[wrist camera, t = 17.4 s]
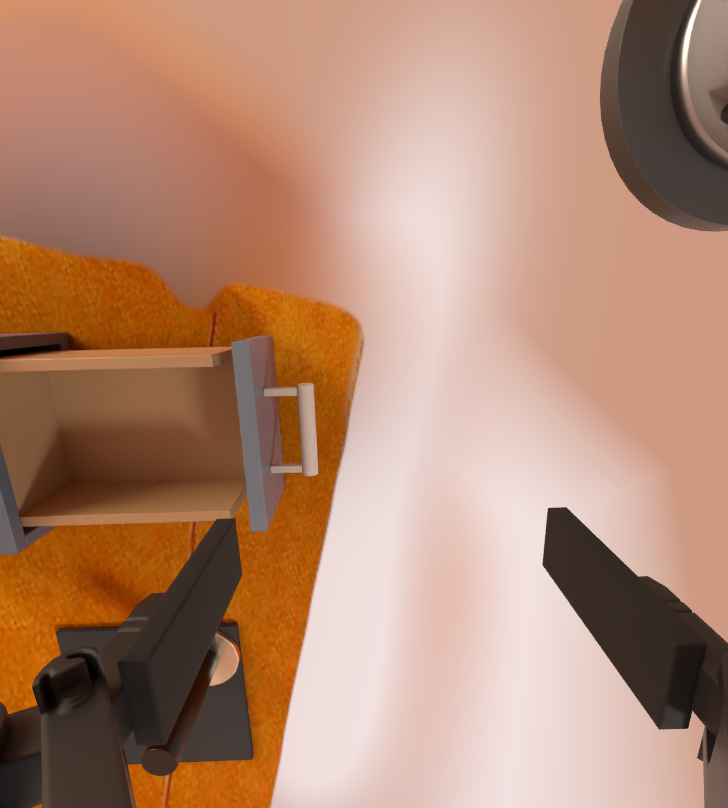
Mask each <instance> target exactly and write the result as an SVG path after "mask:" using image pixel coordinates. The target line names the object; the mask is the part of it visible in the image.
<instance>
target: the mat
mask: <svg viewBox="0 0 728 808" xmlns="http://www.w3.org/2000/svg"><path fill="white" fill-rule="evenodd" d="M119 628H120V627H95V628H65V629H59V630H58V631H57V632H56V635H57V639H58V643H59V647H60V650H61V654H63V653H65V652H67V651H70V650H73V649H76V648H79V647H87V646H89V647H93V648H96V649H97V650H98V652H99V653H101V652H102V650H103V649H104V648H105V647H106V645H107V644H108V643H109V641H110V640H111V639H112V637H113V636H114V635H115V633H118V629H119ZM218 630H220V631H222V632H224V633H226V634H227V635H229V636H230V637H231V638H232V639H233V640H234V641H235V643H236V644H237V646H238V649H239V652H240V661H239V664H238V667H237V670H236V672H235V673H234V675H233V676H232V677H231V678H229V679H228V680H227V681H225V682H223V683H221V684H218V685H213V686H209V687H208V690H207V692H206V695H205V698H204V700H203V703H202V705H201V708H200V710H199V713H198V715H197V718H196V720H195V723H194V725H193V728H192V730H191V733H190V736H189V738H188V741H187V743H186V746H185V748H184V751H183V753H182V756H181V758H180V761H179V762H200V761H226V760H252V759H253V747H252V739H251V731H250V722H249V714H248V706H247V698H246V690H245V682H244V673H243V665H242V657H241V649H240V641H239V633H238V624H237V623H220V625H219V627H218ZM146 748H147V746H137V745H136V740H135V736H134V732H133V730H132V732H131V734H130V736H129V738H128V740H127V741H126V743H125V745H124V751H125V756H126V760H127V764H141V759H142V756H143V754H144V752H145V750H146Z"/></svg>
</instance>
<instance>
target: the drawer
mask: <svg viewBox="0 0 728 808" xmlns="http://www.w3.org/2000/svg"><path fill="white" fill-rule="evenodd" d="M231 346H232V347H192V348H150V349H108V350H66V351H38V352H30V353H22V354H13V355H5V356H0V445H1V448H2V452H3V456H4V460H5V463H6V467H7V471H8V475H9V478H10V482H11V486H12V490H13V493H14V497H15V501H16V505H17V508H18V512H19V516H20V520H21V523H22V527H31V526H64V525H98V524H131V523H165V522H198V521H216V519H226V518H233V516H234V515H235V513H236V511H237V510H238V508H239V507H240V505H241V503H242V502H243V500H244V498H245V497H246V495H247V498H248V508H249V517H250V527H251V532H256V531H267V530H268V528H269V525H270V523H271V520H272V518H273V516H274V513H275V511H276V508H277V506H278V503H279V501H280V498H281V496H282V494H283V491H284V489H285V484H284V473H297V472H302V471H303V475H305V476H314V475H317V474H318V457H317V438H316V420H315V402H314V384H313V383H299V384H297V386H287V387H277V382H276V369H275V356H274V344H273V335H263V336H255V337H251V338H247V339H243V340H239V341H234V342H231ZM296 395H298V410H299V425H300V441H301V456H302V463H283V458H282V446H281V433H280V420H279V407H278V396H296Z"/></svg>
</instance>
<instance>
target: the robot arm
mask: <svg viewBox="0 0 728 808" xmlns="http://www.w3.org/2000/svg"><path fill="white" fill-rule="evenodd" d="M670 84H671V95H672V102H673V106H674V110H675V114H676V117H677V120H678V122H679V125H680V127H681V129H682V131H683V133H684V134H685V136H686V138H687V139H688V141H689V142H690V143H691V144H692V146H693V147H694V148H695V149H696V150H697V151H698V152H699V153H700V154H701V155H702V156H704V157H705V158H706V159H708V160H709V161H711V162H713V163H714V164H716V165H719V166H721V167H723V168H726V169H728V0H691V1H690V3H689V5H688V7H687V9H686V11H685V14H684V16H683V18H682V21H681V24H680V26H679V29H678V32H677V36H676V39H675V43H674V48H673V53H672V60H671V71H670ZM543 566H544V568H545V569H546V570H547V572H548V573H549V575H550V576H551V578H552V579H553V580H554V582H555V583H556V585H557V586H558V587H559V589H560V590H561V592H562V593H563V595H564V596H565V597H566V599H567V600H568V601H569V603H570V604H571V606H572V607H573V609H574V610H575V611H576V613H577V614H578V616H579V617H580V618H581V619H582V621H583V623H584V624H585V626H586V627H587V628H588V629H589V631H590V633H591V634H592V635H593V637H594V638H595V640H596V641H597V642H598V644H599V645H600V646H601V648H602V650H603V651H604V652H605V654H606V655H607V657H608V658H609V659H610V661H611V662H612V664H613V665H614V666H615V668H616V669H617V671H618V672H619V673H620V675H621V676H622V678H623V679H624V680H625V682H626V683H627V685H628V686H629V688H630V689H631V690H632V692H633V693H634V695H635V696H636V697H637V699H638V700H639V702H640V703H641V705H642V706H643V707H644V709H645V710H646V711H647V713H648V714H649V716H650V717H651V718H652V720H653V721H654V723H655V724H656V726H657V727H658V728H659V729H687V728H688V727H689V722H690V718H691V713H692V710H693V712H694V713H695V714H696V715H697V717H698V718H699V719H700V720H701V721H702V723H703V724H704V725H705V729H704V733H703V737H702V741H701V745H700V749H699V753H698V757H697V758H698V759H700V760H702V761H703V762H704V763H703V765H704V802H705V808H728V643H727V642H726V641H725V640H724V639H723V638H721V636H719V635H718V634H717V633H716V632H715V631H714V630H713V629H712V628H711V627H709V626H708V625H707V624H706V623H705V622H704V621H703V620H702V619H701V618H700V617H699V616H697V615H696V614H695V613H692V610H691V609H690V608H689V607H687V606H686V605H685V604H684V603H683V602H681V601H680V599H679V598H678V597H676V596H675V595H674V594H673V593H672V592H671V591H670V590H669V589H668V588H667V587H665V586H664V585H662V584H660V583H658V582H657V581H655V580H653V579H652V578H650V577H648V576H646V577H645V576H644V577H638V576H637V575H636V574H635V573H634V572H633V571H631V569H629V567H627V566H626V565H625V564H624V563H623V562H622V561H621V560H620V559H619V558H618V557H617V556H616V555H615V554H614V553H613V552H612V551H611V550H610V549H609V548H608V547H607V546H606V545H605V544H604V543H603V542H602V541H601V540H600V539H599V538H597V537H596V536H595V535H594V534H593V533H592V532H591V531H590V530H589V529H588V528H587V527H586V526H585V525H584V524H583V523H582V522H581V521H580V520H579V519H578V518H577V517H576V516H574V514H573V513H571V511H570V510H568V509H567V508H566V507H563V508H548V513H547V523H546V535H545V544H544V555H543ZM241 576H242V569H241V561H240V553H239V546H238V538H237V530H236V523H235V518H226V519H216V521H215V522H214V523H213V525H212V526H211V528H210V529H209V531H208V532H207V534H206V535H205V536H204V538H203V539H202V541H201V542H200V544H199V545H198V547H197V548H196V549H195V551H194V552H193V554H192V555H191V557H190V558H189V560H188V561H187V562H186V564H185V565H184V567H183V568H182V570H181V571H180V572H179V574H178V575H177V577H176V578H175V580H174V581H173V583H172V584H171V585H170V587H169V588H168V590H167V591H166V593H152V594H150V595H149V596H148V597H147V598H145V599H144V600H143V601H142V602H140V603H139V604H138V605H137V606H136V607H135V608H134V610H133V611H132V612H131V614H130V615H129V616H128V618H127V620H126V621H125V622H124V623H123V624H122V625H121V627H120V628H119V629H118V633H115V635H114V636H113V637H112V639H111V640H110V641H109V643H108V644H107V645H106V647H105V648H104V649H103V650H102V652H101V653H99V652H98V650H97V649H96V648H93V647H89V646H87V647H79V648H76V649H73V650H70V651H67V652H65V653H63V654H62V655H60V656H58V657H57V658H55V659H53V660H52V661H51V662H50V663H48V664H47V665H46V666H45V667H44V668H43V669H42V670H41V671H40V672H39V674H38V675H37V676H36V678H35V680H34V683H33V686H32V689H33V692H34V695H35V698H36V701H37V704H38V706H35V707H31V708H28V709H25V710H22V711H18V712H15V713H12V714H9V715H8V713H7V710H6V707H5V706H4V705H3V704H2V703H1V702H0V808H31V807H34V806H37V805H39V804H42V808H136V803H135V798H134V793H133V789H132V784H131V779H130V774H129V770H128V765H127V760H126V756H125V751H124V745H125V743H126V741H127V740H128V738H129V736H130V734H131V732H132V730H133V732H134V736H135V740H136V745H137V746H150V745H166V743H167V741H168V738H169V736H170V734H171V732H172V730H173V727H174V725H175V723H176V721H177V718H178V716H179V714H180V712H181V710H182V707H183V705H184V703H185V701H186V698H187V696H188V694H189V692H190V690H191V687H192V685H193V683H194V681H195V678H196V676H197V674H198V672H199V670H200V667H201V665H202V663H203V661H204V659H205V656H206V654H207V652H208V650H209V647H210V645H211V643H212V641H213V639H214V636H215V634H216V632H217V630H218V627H219V625H220V623H221V621H222V619H223V616H224V614H225V612H226V610H227V607H228V605H229V603H230V601H231V599H232V596H233V594H234V592H235V590H236V587H237V585H238V583H239V581H240V579H241Z"/></svg>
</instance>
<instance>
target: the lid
mask: <svg viewBox="0 0 728 808" xmlns="http://www.w3.org/2000/svg"><path fill="white" fill-rule="evenodd" d="M239 661H240V652H239V649H238V646H237V644H236V643H235V641H234V640H233V639H232V638H231V637H230V636H229V635H227V634H226V633H224V632H222V631H220V630H217V632H216V634H215V636H214V639H213V641H212V643H211V645H210V647H209V650H208V652H207V654H206V656H205V659H204V661H203V663H202V665H201V667H200V670H199V672H198V674H197V676H196V678H195V681H194V683H193V685H192V687H191V690H190V692H189V694H188V696H187V698H186V701H185V703H184V705H183V707H182V710H181V712H180V714H179V716H178V718H177V721H176V723H175V725H174V727H173V730H172V732H171V734H170V736H169V738H168V741H167V743H166V745H150V746H147V748H146V750H145V752H144V754H143V756H142V759H141V764H142V766H143V768H144V769H145V770H146V771H147V772H149V773H150V774H153V775H157V776H165V775H169V774H171V773H173V772H174V771H175V770H176V768H177V766H178V763H179V761H180V758H181V756H182V753H183V751H184V748H185V746H186V743H187V741H188V738H189V736H190V733H191V730H192V728H193V725H194V723H195V720H196V718H197V715H198V713H199V710H200V708H201V705H202V703H203V700H204V698H205V695H206V692H207V690H208V687H209V686H213V685H218V684H221V683H223V682H225V681H227V680H228V679H229V678H231V677H232V676H233V675H234V673H235V672H236V670H237V667H238V664H239Z"/></svg>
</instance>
